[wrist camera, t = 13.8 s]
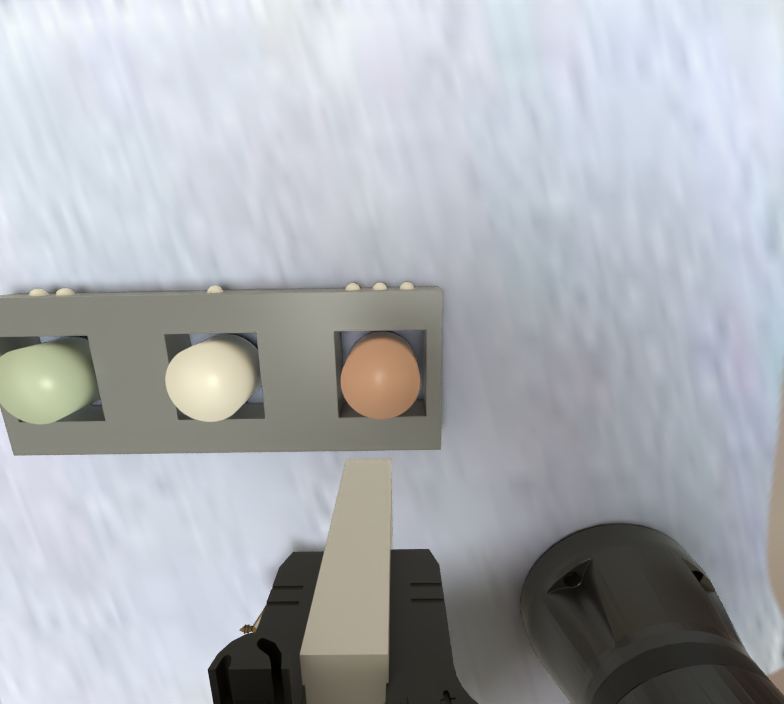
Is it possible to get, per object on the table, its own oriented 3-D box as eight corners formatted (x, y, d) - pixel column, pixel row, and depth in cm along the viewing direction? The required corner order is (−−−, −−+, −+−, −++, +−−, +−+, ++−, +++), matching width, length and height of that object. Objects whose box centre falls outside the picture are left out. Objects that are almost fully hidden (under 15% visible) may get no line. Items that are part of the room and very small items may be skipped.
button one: (261, 333, 27) (240, 345, 24) (267, 399, 29) (249, 421, 25) (190, 334, 28) (159, 346, 24) (200, 400, 29) (172, 422, 25)
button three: (416, 330, 27) (420, 342, 24) (417, 397, 29) (420, 418, 25) (346, 331, 27) (338, 343, 24) (349, 398, 29) (342, 419, 25)
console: (437, 279, 27) (442, 283, 24) (436, 430, 30) (440, 449, 27) (12, 287, 27) (-33, 291, 25) (50, 436, 30) (13, 455, 27)
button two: (106, 335, 28) (62, 348, 24) (119, 402, 29) (79, 423, 25) (36, 337, 28) (-19, 350, 24) (52, 403, 29) (2, 424, 25)
